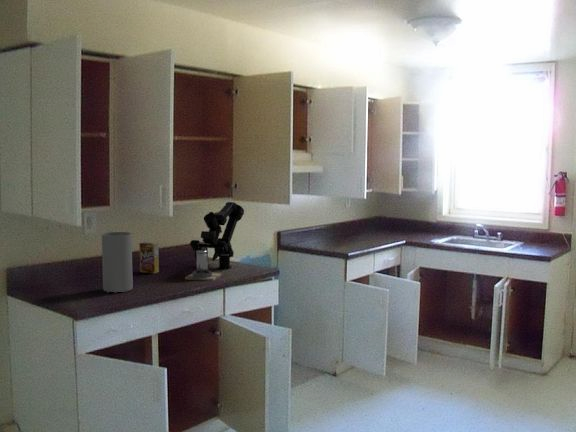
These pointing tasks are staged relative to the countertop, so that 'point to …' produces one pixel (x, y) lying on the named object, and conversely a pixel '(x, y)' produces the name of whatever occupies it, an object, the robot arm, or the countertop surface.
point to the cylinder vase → (117, 261)
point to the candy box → (149, 257)
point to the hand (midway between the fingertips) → (204, 260)
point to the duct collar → (204, 275)
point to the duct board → (213, 277)
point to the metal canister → (202, 261)
